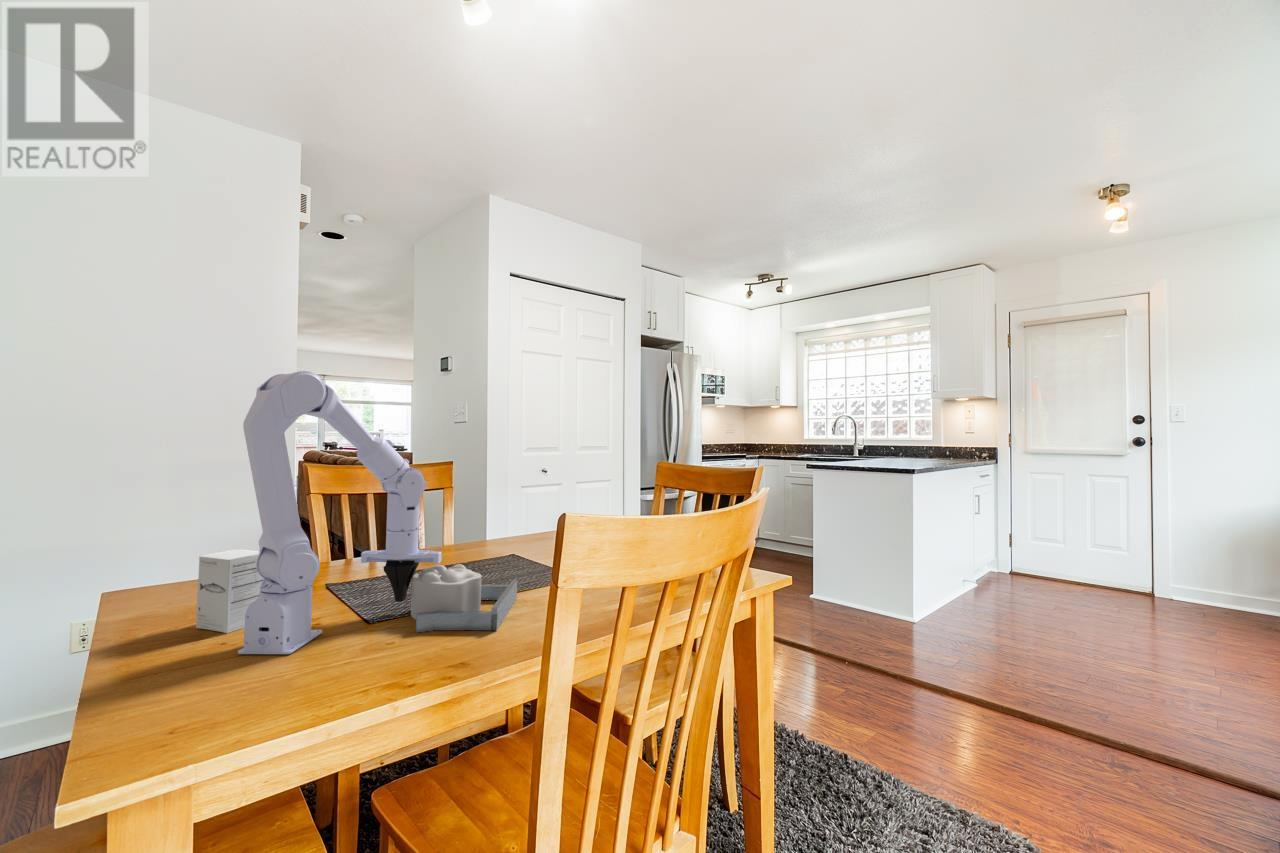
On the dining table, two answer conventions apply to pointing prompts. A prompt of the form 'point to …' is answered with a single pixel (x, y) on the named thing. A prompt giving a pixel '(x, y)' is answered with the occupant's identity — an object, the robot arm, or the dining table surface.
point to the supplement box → (226, 589)
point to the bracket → (472, 612)
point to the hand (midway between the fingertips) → (400, 600)
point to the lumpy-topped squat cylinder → (445, 590)
